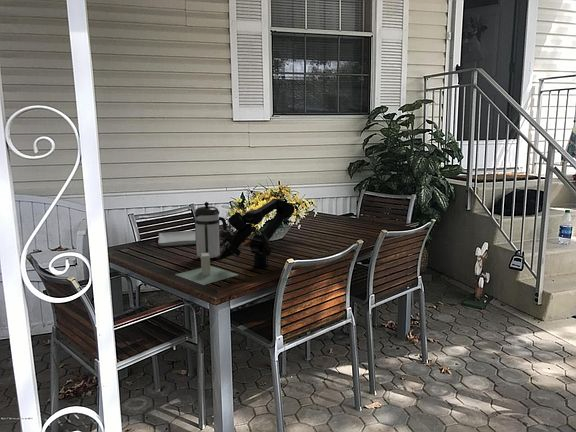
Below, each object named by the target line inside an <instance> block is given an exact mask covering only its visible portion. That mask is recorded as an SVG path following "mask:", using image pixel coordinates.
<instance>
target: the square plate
mask: <svg viewBox="0 0 576 432" xmlns="http://www.w3.org/2000/svg"><path fill="white" fill-rule="evenodd" d="M157 243H158V245H159V246H161V247H175V246H176V247H177V246H189V245H191V246H192V245H196V235H195V230H184V231H182V230H181V231H169V232H159V233H158V240H157Z"/></svg>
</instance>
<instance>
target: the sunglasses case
mask: <svg viewBox="0 0 576 432" xmlns="http://www.w3.org/2000/svg"><path fill="white" fill-rule="evenodd" d="M251 239H252V238H249V237H248V238H247V239H246V240H245V241H246V242H245V243H244V242H243V243H242V244H241V245H240V246H239V247H241V248H244V247H250V242H251V241H252V240H251Z"/></svg>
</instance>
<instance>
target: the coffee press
mask: <svg viewBox="0 0 576 432" xmlns="http://www.w3.org/2000/svg"><path fill="white" fill-rule="evenodd" d="M193 214H194V231H195V235H196V244H195V255H194V259H195V260H197V259H198V258H200V259H201V253H209V255H210V259H215V258H219V256H220V254H221V252H222V251H221V247H224V245H223V243H224V244H225V242H224V241H223V240H222V242H221V237H220V236H219V234H220V232H221V229H220V227H221V226H220V221H221V222H222V229H223V230H225V231H228V229H227V221H226V219H225V218H224V217H222V216H219V215H220V210H219V209H218V208H217V207H215V206H210V204H209V202H208V201H205V202H204V206H200V207H197V208H196V209H195V210H194V213H193ZM196 255H197V257H196Z"/></svg>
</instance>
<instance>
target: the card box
mask: <svg viewBox="0 0 576 432" xmlns="http://www.w3.org/2000/svg"><path fill="white" fill-rule="evenodd" d="M210 266H211V258H210V255H209V253H201V258H200V268H201V272H202V275H211V274H210Z"/></svg>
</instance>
